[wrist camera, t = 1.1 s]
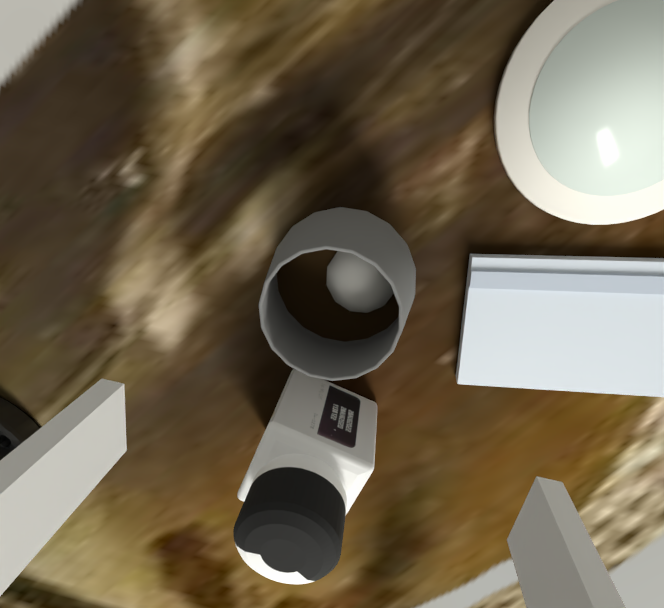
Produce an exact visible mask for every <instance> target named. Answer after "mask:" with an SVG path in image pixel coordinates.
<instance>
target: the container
mask: <svg viewBox="0 0 664 608" xmlns="http://www.w3.org/2000/svg"><path fill="white" fill-rule="evenodd" d="M376 424H377V404H376V403H375V402H374V401H372V400H369V399H367V398H365V397H362V396H360V395H358V394H356V393H353V392H351V391H349V390H346V389H344V388H342V387H340V386H337V385H335V384H333V383H330V382H328V381H326V380H324V379H320V378H315V377H309V376H307V375H305V374H304V373H302V372H300V371H298V370H296V369H293V370H292V371H291V374H290V376H289V378H288V380H287V383H286V385H285V387H284V389H283V392H282V394H281V396H280V399H279V401H278V403H277V405H276V408H275V410H274V412H273V414H272V417H271V419H270V421H269V423H268V426H267V428H266V430H265V432H264V435H263V437H262V439H261V441H260V444H259V446H258V448H257V450H256V453H255V455H254V457H253V460H252V462H251V464H250V466H249V469H248V471H247V473H246V475H245V478H244V480H243V482H242V484H241V487H240V489H239V491H238V498H239V500H241V501H244V504H243V506H242V508H241V511H240V513H239V516H238V518H237V521H236V523H235V526H234V541H235V544H236V547H237V549H238V552H239V553H240V555H241V557H242V558H243V560H244V561H245V562H246V563H247V564H248V565H249V566H250V567H251V568H252V569H253V570H255V571H256V572H257V573H259V574H261V575H262V576H264V577H267V578H269V579H271V580H274V581H277V582H281V583H287V584H305V583H310V582H314V581H316V580H319V579H321V578H322V577H324V576H325V575H327V574H328V573H329V572H330V571H332V570H333V569H334V567H335V566H336V565H337V563H338V561H339V558H340V555H341V547H342V539H343V531H344V523H345V516H346V514H347V512H348V511H349V509H350V507H351V506H352V504H353V503H354V501H355V499H356V498H357V496H358V494H359V493H360V491H361V490H362V488H363V486H364V485H365V483H366V481H367V480H368V478H369V477H370V475H371V473H372V472H373V470H374V461H375V442H376Z"/></svg>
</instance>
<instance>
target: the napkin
mask: <svg viewBox="0 0 664 608" xmlns="http://www.w3.org/2000/svg"><path fill="white" fill-rule="evenodd" d="M456 380H457V384H465V385H481V386H497V387H512V388H528V389H544V390H560V391H576V392H591V393H607V394H623V395H639V396H654V397H664V258H632V257H589V256H546V255H503V254H470V256H469V265H468V274H467V283H466V291H465V300H464V309H463V317H462V326H461V335H460V344H459V352H458V361H457V370H456Z"/></svg>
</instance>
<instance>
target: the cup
mask: <svg viewBox="0 0 664 608" xmlns="http://www.w3.org/2000/svg"><path fill="white" fill-rule="evenodd" d="M415 282H416V268H415V265H414V262H413V259H412V257H411V254H410V251H409V248H408V245H407V244H406V242H405V241H404V240H403V239H402V238H401V236H400V235H399V234H398V233H397V232H396V231H395V229H394V228H393V227H392V226H391V225H390V224H389V223H387V222H385V221H384V220H382V219H380V218H378V217H376V216H375V215H373V214H371V213H369V212H367V211H363V210H357V209H350V208H344V207H338V208H333V209H328V210H324V211H319V212H314V213H313V214H311V215H310V216H308V217H306V218H305V219H303V220H302V221H300V222H299V223H297V224H295V225H294V226H292V228H291V229H290V230H289V232H288V233H287V234H286V236H285V237H284V239H283V240H282V241H281V243H280V244H279V245H278V247H277V248H276V251H275V254H274V257H273V260H272V262H271V265H270V268H269V271H268V274H267V276H266V279H265V282H264V286H263V290H262V293H261V297H260V301H259V314H260V323H261V329H262V331H263V333H264V335H265V337H266V339H267V341H268V343H269V345H270V347H271V349H272V350H273V351H274V352H275V353H276V354H277V355H278V356H279V357H280V358H281V359H282V360H283V361H284V362H285V363H286V364H287V365H288V366H290V367H292V368H294V369H296V370H298V371H300V372H302V373H304V374H305V375H307V376H309V377H315V378H320V379H325V380H330V381H336V380H344V379H353V378H357V377H359V376H361V375H364V374H366V373H368V372H370V371H372V370H374V369H376V368H378V367H379V366H380V365H381V364H382V363H383V362H384V361H385V360H386V359H387V358H388V357H389V356H390V355H391V354H392V353H393V351H394V349H395V347H396V344H397V342H398V340H399V337H400V335H401V333H402V330H403V328H404V325H405V322H406V319H407V316H408V314H409V311H410V308H411V305H412V303H413V300H414V297H415Z"/></svg>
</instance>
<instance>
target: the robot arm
mask: <svg viewBox="0 0 664 608" xmlns="http://www.w3.org/2000/svg"><path fill="white" fill-rule="evenodd" d="M126 451H127V445H126V419H125V393H124V384H123V383H119V382H114V381H110V380H105V379H101V380H100V381H98V382H97V383H96V384H95V385H93V386H92V387H91V388H90V389H88V390H87V391H86V392H85V393H83V394H82V395H81V396H80V397H78V398H77V399H76V400H75V401H74V402H72V403H71V404H70V405H69V406H67V407H66V408H65V409H64V410H62V411H61V412H60V413H59V414H57V415H56V416H55V417H54V418H52V419H51V420H50V421H49V422H48V423H46V424H45V425H44V426H43V427H41V428H39V427H38V426H37V425H36V424H35V423H34V421H32V420H31V419H30V418H29V417H28V416H27V415H26V414H25V413H24V412H22V411H21V410H20V409H18V408H17V407H16V406H14V405H13V404H11V403H9V402H8V401H6V400H4V399H2V398H0V596H1V595H2V593H3V592H4V591H5V590H6V589H7V588H8V586H9V585H10V584H11V583H12V582H13V581H14V580H15V578H16V577H17V576H18V575H19V574H20V573H21V572H22V570H23V569H24V568H25V567H26V566H27V565H28V563H29V562H30V561H31V560H32V559H33V558H34V557H35V555H36V554H37V553H38V552H39V551H40V550H41V548H42V547H43V546H44V545H45V544H46V543H47V542H48V540H49V539H50V538H51V537H52V536H53V535H54V533H55V532H56V531H57V530H58V529H59V528H60V527H61V525H62V524H63V523H64V522H65V521H66V520H67V519H68V517H69V516H70V515H71V514H72V513H73V512H74V510H75V509H76V508H77V507H78V506H79V505H80V504H81V502H82V501H83V500H84V499H85V498H86V497H87V495H88V494H89V493H90V492H91V491H92V490H93V489H94V487H95V486H96V485H97V484H98V483H99V482H100V480H101V479H102V478H103V477H104V476H105V475H106V474H107V472H108V471H109V470H110V469H111V468H112V467H113V466H114V464H115V463H116V462H117V461H118V460H119V459H120V457H121V456H122V455H123V454H124V453H125V452H126ZM507 542H508V545H509V549H510V552H511V556H512V559H513V562H514V566H515V569H516V573H517V576H518V580H519V583H520V587H521V590H522V593H523V597H524V600H525V604H526V607H527V608H626V607H625V605H624V604H623V601H622V600H621V597H620V595H619V594H618V591H617V590H616V587H615V586H614V584H613V582H612V580H611V578H610V576H609V574H608V572H607V570H606V568H605V566H604V564H603V562H602V560H601V558H600V556H599V554H598V552H597V550H596V548H595V546H594V544H593V542H592V540H591V538H590V536H589V534H588V532H587V530H586V528H585V526H584V524H583V522H582V520H581V518H580V516H579V514H578V512H577V510H576V508H575V506H574V504H573V502H572V500H571V498H570V496H569V494H568V492H567V490H566V488H565V486H564V484H563V482H559V481H555V480H550V479H546V478H541V477H537V476H536V479H535V481H534V483H533V485H532V487H531V489H530V491H529V494H528V496H527V498H526V500H525V502H524V504H523V507H522V509H521V511H520V513H519V515H518V517H517V519H516V522H515V524H514V526H513V528H512V530H511V532H510V534H509V537H508V539H507Z"/></svg>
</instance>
